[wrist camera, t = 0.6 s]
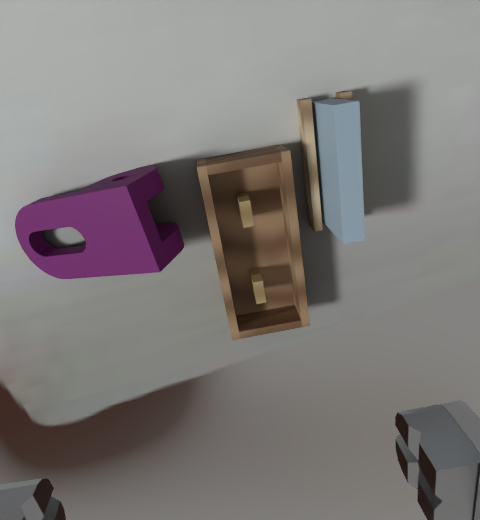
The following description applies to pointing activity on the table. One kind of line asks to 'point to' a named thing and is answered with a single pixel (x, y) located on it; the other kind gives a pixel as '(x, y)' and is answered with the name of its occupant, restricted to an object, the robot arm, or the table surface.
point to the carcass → (256, 239)
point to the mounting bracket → (102, 228)
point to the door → (340, 167)
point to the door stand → (312, 158)
